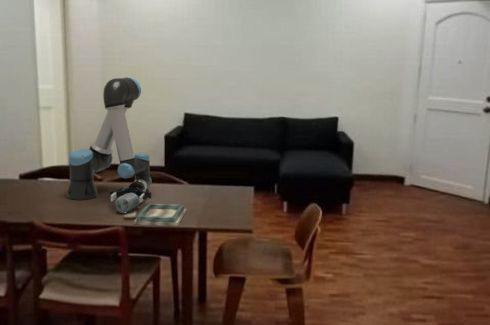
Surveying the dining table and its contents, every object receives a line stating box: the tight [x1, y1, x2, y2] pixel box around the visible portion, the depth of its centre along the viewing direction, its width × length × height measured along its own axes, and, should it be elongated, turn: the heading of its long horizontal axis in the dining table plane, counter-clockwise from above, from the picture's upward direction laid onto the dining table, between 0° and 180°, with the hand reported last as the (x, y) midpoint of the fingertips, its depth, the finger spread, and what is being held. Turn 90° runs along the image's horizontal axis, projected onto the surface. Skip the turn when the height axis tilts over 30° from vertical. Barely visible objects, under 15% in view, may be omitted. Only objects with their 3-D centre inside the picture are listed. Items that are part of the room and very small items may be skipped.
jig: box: [133, 203, 187, 227], centre depth 248 cm, size 19×22×4 cm
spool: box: [114, 193, 141, 214], centre depth 257 cm, size 14×10×10 cm
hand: (125, 199), depth 254 cm, fingers open, 13 cm apart
